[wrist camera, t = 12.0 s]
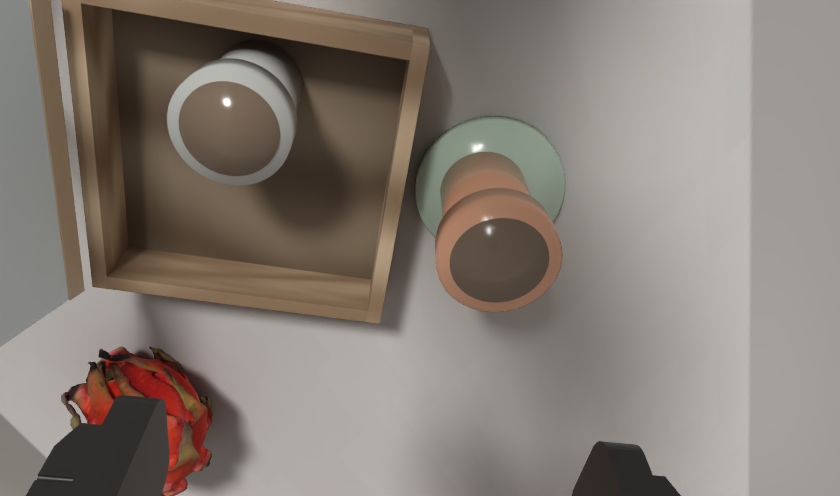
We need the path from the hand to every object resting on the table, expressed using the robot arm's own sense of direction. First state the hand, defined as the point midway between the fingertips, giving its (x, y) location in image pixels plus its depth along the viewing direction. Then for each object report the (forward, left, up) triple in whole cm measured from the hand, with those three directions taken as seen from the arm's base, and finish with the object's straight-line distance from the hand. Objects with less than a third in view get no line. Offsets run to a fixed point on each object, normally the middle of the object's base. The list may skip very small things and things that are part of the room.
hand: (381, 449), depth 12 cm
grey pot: (+1, -7, -24) cm, 25 cm away
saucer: (+5, +6, -24) cm, 26 cm away
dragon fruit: (+24, -13, -25) cm, 37 cm away
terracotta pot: (+5, +6, -24) cm, 25 cm away
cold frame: (+5, -10, -24) cm, 27 cm away
